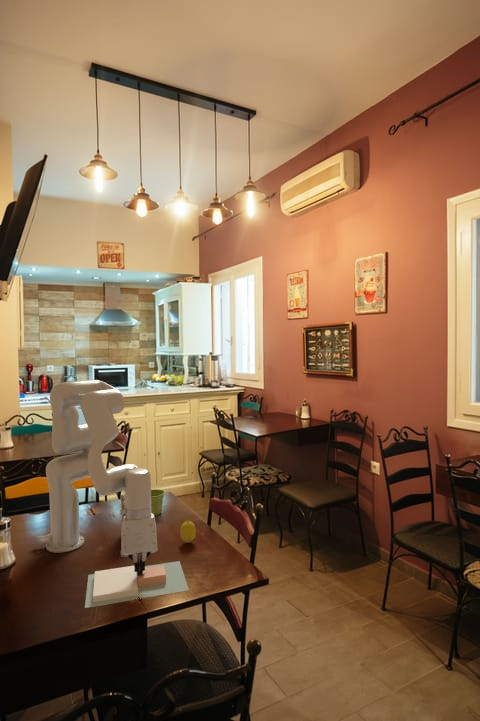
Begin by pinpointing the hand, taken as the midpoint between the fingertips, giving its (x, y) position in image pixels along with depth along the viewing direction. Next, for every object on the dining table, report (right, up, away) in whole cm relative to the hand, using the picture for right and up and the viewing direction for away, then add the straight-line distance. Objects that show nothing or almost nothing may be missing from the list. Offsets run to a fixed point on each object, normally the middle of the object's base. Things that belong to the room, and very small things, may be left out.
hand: (139, 573), depth 128 cm
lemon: (+11, -2, +26) cm, 29 cm away
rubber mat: (-1, -3, 0) cm, 3 cm away
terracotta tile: (+3, -3, +1) cm, 4 cm away
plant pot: (-7, -2, +55) cm, 56 cm away
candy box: (-11, -3, +31) cm, 33 cm away
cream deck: (-7, -3, -2) cm, 7 cm away
